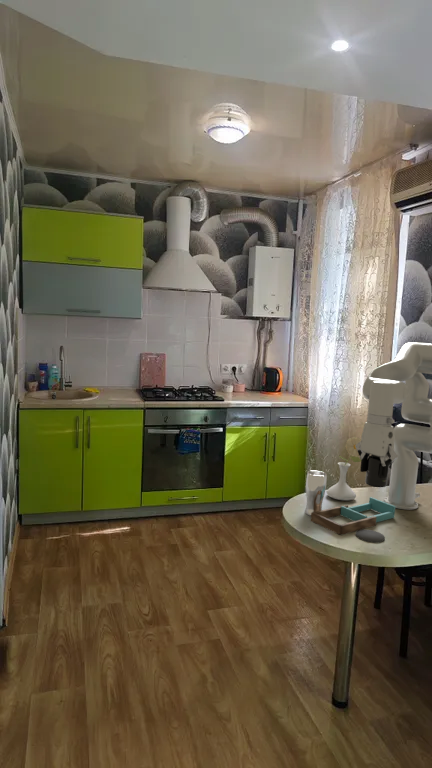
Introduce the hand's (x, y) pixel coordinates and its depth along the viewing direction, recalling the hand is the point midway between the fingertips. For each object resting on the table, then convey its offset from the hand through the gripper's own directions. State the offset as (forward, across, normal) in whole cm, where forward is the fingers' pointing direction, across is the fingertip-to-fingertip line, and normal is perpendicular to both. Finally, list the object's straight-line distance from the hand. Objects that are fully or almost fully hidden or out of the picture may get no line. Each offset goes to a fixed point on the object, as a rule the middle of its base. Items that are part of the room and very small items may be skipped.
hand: (373, 474), depth 167 cm
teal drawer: (+20, +10, -12) cm, 25 cm away
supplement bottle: (+4, 0, -2) cm, 4 cm away
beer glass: (+20, +21, +3) cm, 29 cm away
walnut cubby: (+20, +10, 0) cm, 22 cm away
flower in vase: (+20, +28, -21) cm, 40 cm away
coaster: (+20, -2, +1) cm, 20 cm away
